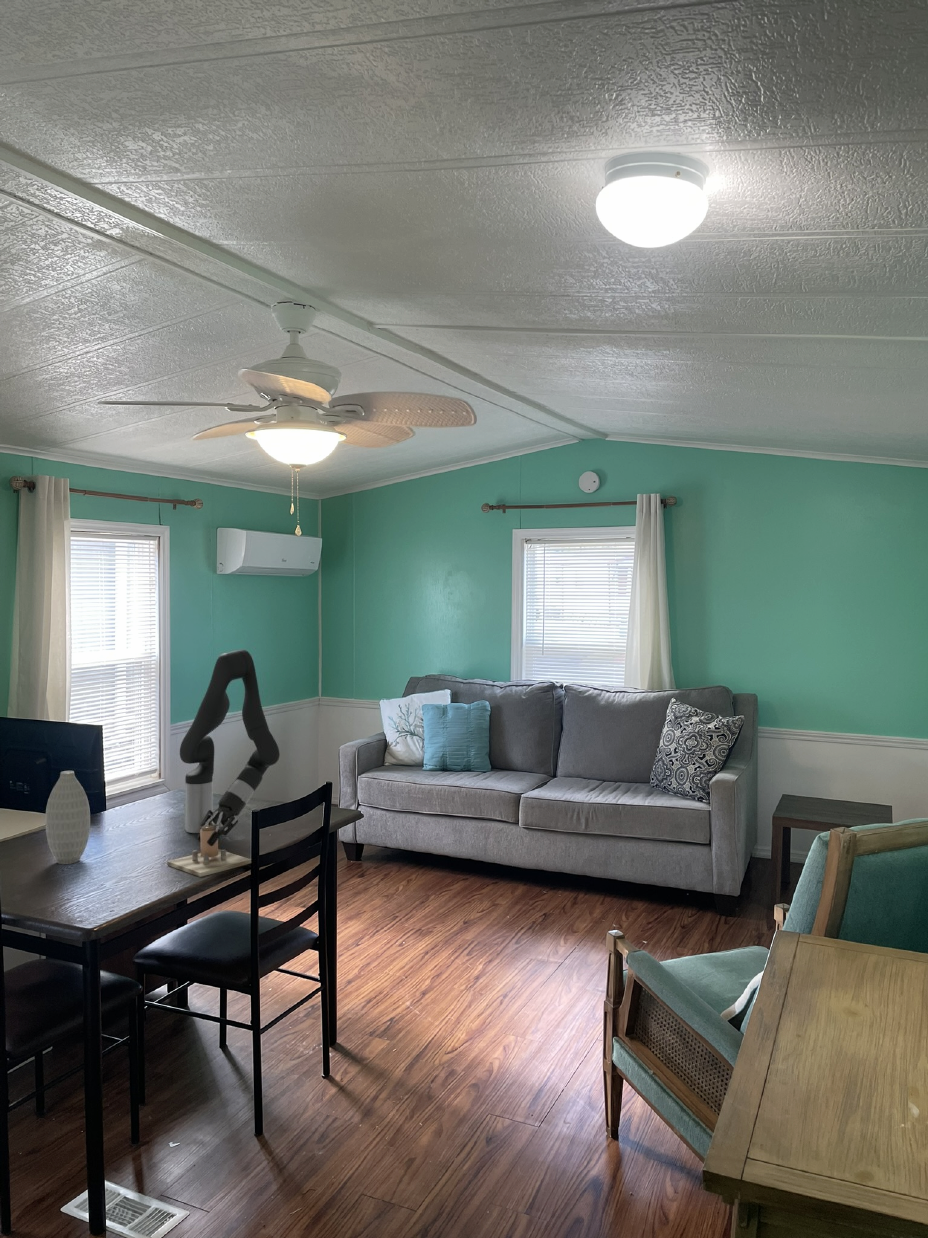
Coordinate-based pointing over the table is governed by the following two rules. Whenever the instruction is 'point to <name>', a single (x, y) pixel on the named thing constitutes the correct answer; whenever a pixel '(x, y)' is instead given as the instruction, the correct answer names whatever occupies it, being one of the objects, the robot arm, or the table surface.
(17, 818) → the table surface
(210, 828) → the canister
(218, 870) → the peg plate
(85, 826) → the vase
